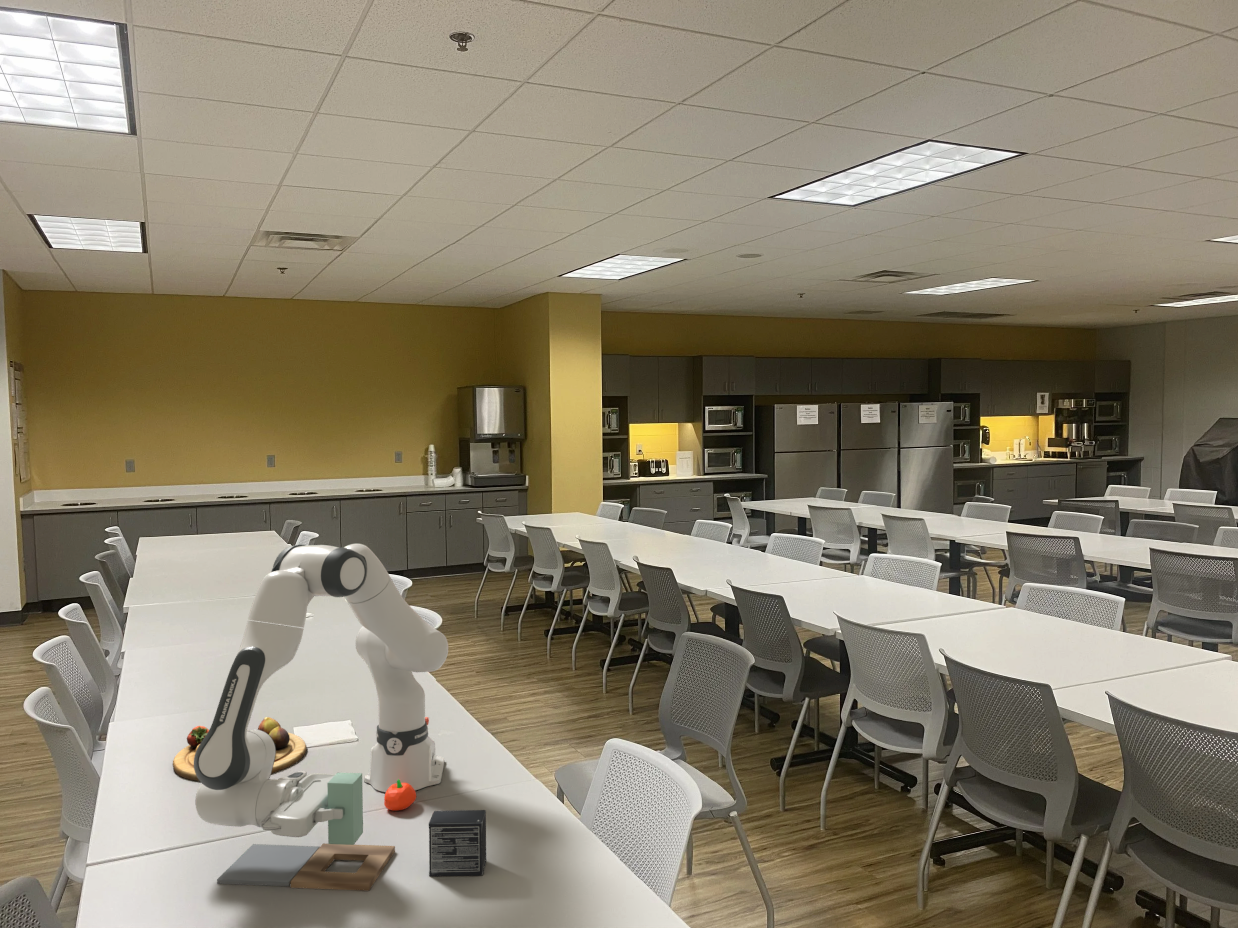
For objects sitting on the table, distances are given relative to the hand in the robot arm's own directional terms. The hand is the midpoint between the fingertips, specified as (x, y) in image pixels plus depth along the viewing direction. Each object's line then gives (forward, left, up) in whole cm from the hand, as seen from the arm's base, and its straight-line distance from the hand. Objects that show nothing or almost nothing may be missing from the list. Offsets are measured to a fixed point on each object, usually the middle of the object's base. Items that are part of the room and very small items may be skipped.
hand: (349, 805), depth 170 cm
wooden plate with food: (-54, -50, -13) cm, 75 cm away
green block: (0, -1, -7) cm, 7 cm away
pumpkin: (-28, +1, -13) cm, 31 cm away
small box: (-2, +21, -13) cm, 25 cm away
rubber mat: (0, -16, -13) cm, 20 cm away
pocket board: (0, -1, -13) cm, 13 cm away
